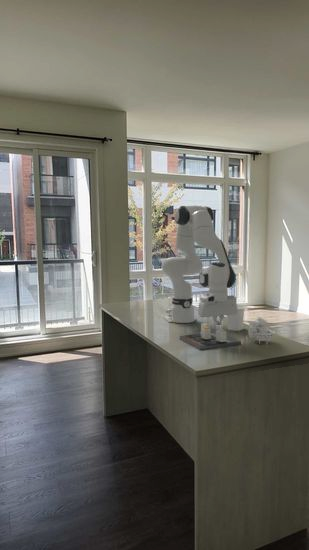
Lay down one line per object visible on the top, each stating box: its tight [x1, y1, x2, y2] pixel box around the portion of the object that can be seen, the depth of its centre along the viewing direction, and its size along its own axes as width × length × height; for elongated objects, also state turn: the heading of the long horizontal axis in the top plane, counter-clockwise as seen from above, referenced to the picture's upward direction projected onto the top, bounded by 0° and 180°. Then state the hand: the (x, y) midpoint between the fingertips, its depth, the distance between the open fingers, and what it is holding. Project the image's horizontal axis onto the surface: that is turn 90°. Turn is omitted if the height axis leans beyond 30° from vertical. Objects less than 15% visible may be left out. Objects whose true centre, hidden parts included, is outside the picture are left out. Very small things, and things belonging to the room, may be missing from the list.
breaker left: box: [200, 322, 211, 329], centre depth 177 cm, size 4×3×5 cm
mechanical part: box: [247, 316, 276, 345], centre depth 168 cm, size 11×12×12 cm
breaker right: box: [215, 328, 227, 342], centre depth 164 cm, size 4×3×5 cm
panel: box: [179, 331, 242, 351], centre depth 170 cm, size 20×22×2 cm
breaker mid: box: [200, 327, 212, 339], centre depth 169 cm, size 4×3×5 cm
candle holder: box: [226, 305, 245, 332], centre depth 194 cm, size 10×10×12 cm
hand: (218, 324), depth 171 cm, fingers closed
